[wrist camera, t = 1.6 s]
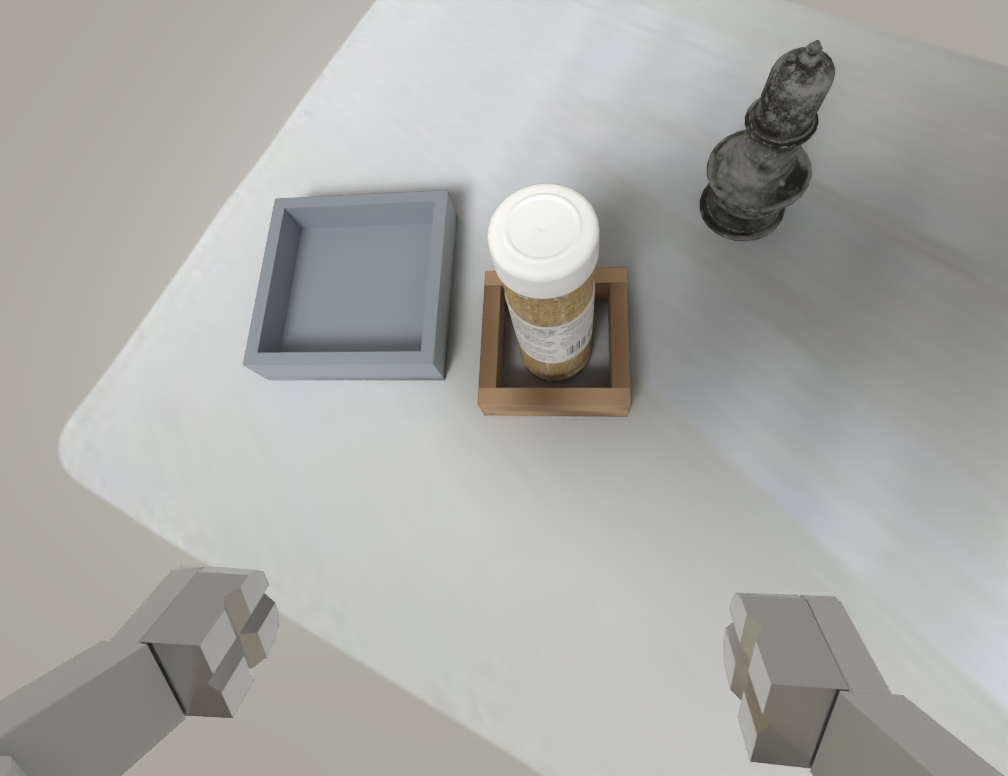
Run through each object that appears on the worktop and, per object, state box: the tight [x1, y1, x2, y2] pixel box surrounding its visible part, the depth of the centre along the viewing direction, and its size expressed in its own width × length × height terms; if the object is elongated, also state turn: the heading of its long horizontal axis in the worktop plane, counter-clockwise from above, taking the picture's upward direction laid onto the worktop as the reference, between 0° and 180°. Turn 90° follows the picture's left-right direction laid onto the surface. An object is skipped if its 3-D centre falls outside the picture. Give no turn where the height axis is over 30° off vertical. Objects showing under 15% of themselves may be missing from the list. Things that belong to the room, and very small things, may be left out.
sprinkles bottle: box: [487, 183, 600, 381], centre depth 28 cm, size 5×5×13 cm
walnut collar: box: [478, 267, 631, 417], centre depth 33 cm, size 9×9×2 cm
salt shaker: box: [700, 40, 835, 241], centre depth 30 cm, size 6×6×12 cm
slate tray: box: [243, 190, 457, 380], centre depth 36 cm, size 12×12×3 cm
